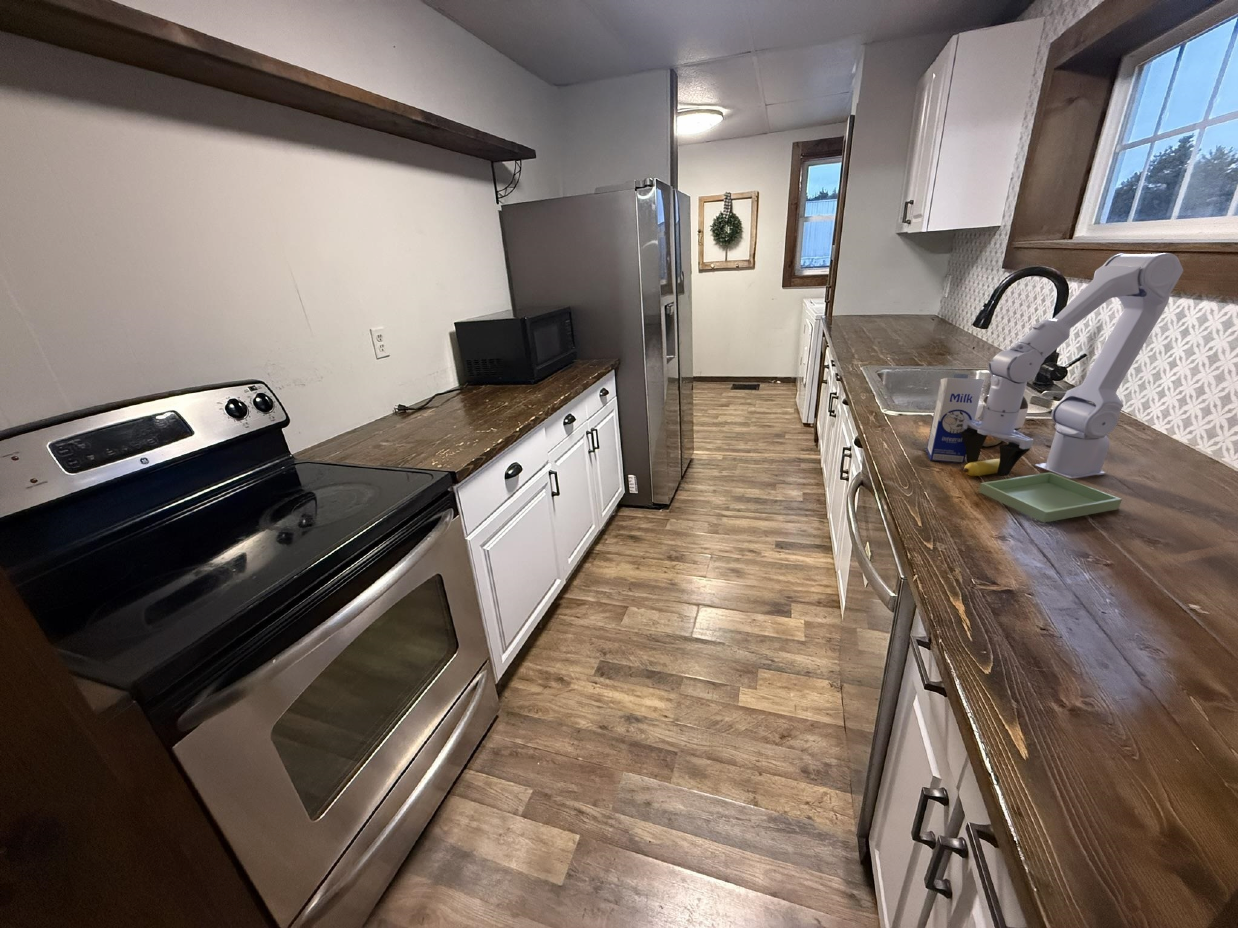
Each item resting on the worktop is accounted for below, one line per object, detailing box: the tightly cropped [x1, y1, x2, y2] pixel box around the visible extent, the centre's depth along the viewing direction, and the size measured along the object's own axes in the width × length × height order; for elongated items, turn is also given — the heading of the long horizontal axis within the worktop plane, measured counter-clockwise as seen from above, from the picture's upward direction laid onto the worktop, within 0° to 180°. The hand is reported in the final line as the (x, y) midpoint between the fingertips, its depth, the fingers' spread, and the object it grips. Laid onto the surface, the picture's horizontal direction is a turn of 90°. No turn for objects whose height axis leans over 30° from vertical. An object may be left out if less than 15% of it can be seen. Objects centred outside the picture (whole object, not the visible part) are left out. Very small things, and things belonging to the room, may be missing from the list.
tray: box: [978, 471, 1123, 524], centre depth 96 cm, size 17×13×3 cm
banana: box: [962, 458, 1000, 477], centre depth 109 cm, size 11×3×3 cm, turn 103°
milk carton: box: [925, 373, 985, 464], centre depth 115 cm, size 7×7×20 cm
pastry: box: [982, 436, 1002, 448], centre depth 126 cm, size 9×7×4 cm
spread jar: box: [974, 390, 1029, 432], centre depth 134 cm, size 12×11×12 cm
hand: (986, 468), depth 109 cm, fingers open, 7 cm apart
